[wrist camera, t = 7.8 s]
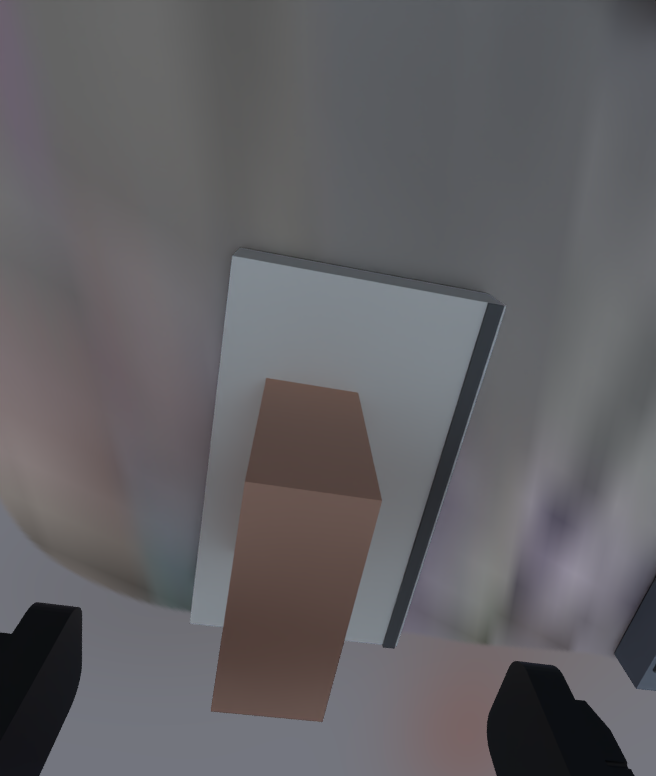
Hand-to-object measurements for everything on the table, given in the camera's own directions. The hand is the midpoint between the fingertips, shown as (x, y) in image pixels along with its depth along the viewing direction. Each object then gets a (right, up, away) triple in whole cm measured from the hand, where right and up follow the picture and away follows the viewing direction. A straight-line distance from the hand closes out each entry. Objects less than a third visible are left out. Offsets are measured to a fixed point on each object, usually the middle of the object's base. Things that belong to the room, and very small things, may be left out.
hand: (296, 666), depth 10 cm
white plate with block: (+1, +3, +7) cm, 8 cm away
